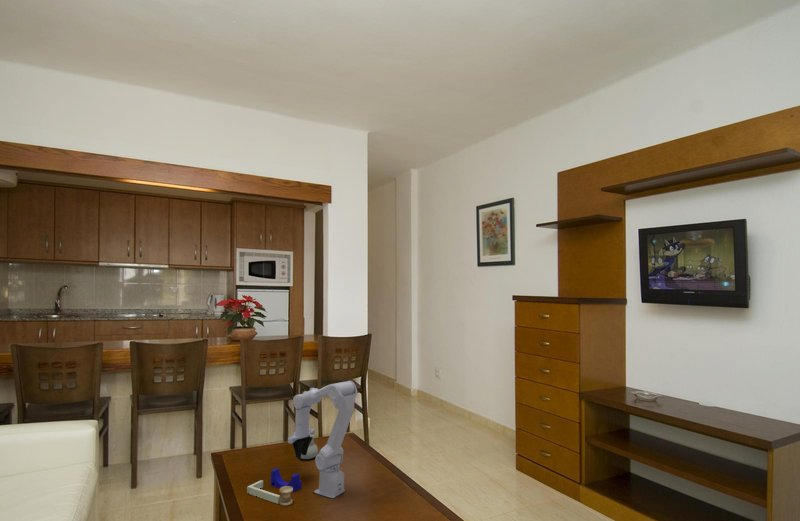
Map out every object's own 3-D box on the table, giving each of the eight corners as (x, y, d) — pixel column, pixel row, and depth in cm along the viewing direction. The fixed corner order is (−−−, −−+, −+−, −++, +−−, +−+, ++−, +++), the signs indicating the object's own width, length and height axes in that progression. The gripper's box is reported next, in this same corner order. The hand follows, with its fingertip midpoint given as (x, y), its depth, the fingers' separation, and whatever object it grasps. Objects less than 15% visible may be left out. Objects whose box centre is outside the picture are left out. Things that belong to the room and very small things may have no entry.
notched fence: (291, 496, 175) (291, 489, 175) (277, 504, 169) (278, 497, 169) (260, 486, 183) (261, 480, 184) (247, 493, 177) (247, 486, 177)
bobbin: (295, 501, 171) (295, 487, 172) (286, 506, 167) (286, 492, 167) (285, 498, 174) (286, 484, 174) (276, 503, 170) (276, 489, 170)
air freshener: (295, 454, 218) (295, 433, 219) (312, 451, 222) (312, 430, 223) (301, 462, 209) (302, 440, 209) (319, 459, 213) (319, 437, 213)
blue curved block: (301, 488, 183) (301, 472, 183) (293, 492, 179) (294, 476, 179) (278, 481, 189) (278, 466, 189) (270, 485, 185) (271, 470, 185)
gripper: (306, 417, 201) (305, 448, 200) (282, 425, 188) (281, 459, 187) (319, 419, 197) (318, 452, 196) (295, 428, 185) (294, 463, 184)
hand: (301, 456), depth 192 cm, fingers open, 3 cm apart
